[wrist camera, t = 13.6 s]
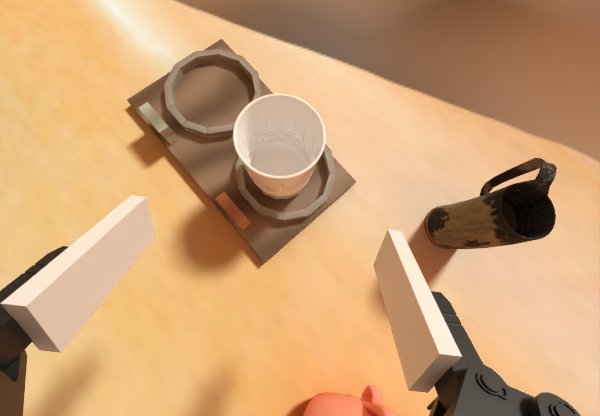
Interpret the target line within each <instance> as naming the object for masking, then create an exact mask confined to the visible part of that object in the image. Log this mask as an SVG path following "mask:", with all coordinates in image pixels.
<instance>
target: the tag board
mask: <svg viewBox="0 0 600 416" xmlns="http://www.w3.org/2000/svg"><path fill="white" fill-rule="evenodd" d="M175 65H176V66H175ZM175 65H174V67H173V69H172V70H171V72H169V73H168V74H166V75H165V76H163V77H162V78H160V79H159V80H157V81H156V82H154V83H152V84H151V85H149V86H148V87H146V88H145V89H143V90H142V91H140V92H138V93H137V94H135V95H134V96H132V97H131V98H129V99H128V100H127V101H128V102H129V103H130V104H131V105H132V107H133V108H134V109H135V110H136V111H137V113H138V114H139V115H140V116H141V117H142V118H143V120H144V121H145V122H146V123H147V124H148V126H149V127H150V128H151V129H152V130H153V132H154V133H155V134H156V135H157V136H158V137H159V139H160V140H161V141H162V142H163V143H164V145H165V146H166V147H167V148H168V149H169V150H170V152H171V153H172V154H173V155H174V156H175V158H176V159H177V160H178V161H179V162H180V164H181V165H182V166H183V167H184V168H185V169H186V171H187V172H188V173H189V174H190V175H191V177H192V178H193V179H194V180H195V181H196V182H197V184H198V185H199V186H200V187H201V188H202V190H203V191H204V192H205V193H206V194H207V196H208V197H209V198H210V199H211V200H212V201H213V203H214V204H215V205H216V206H217V207H218V209H219V210H220V211H221V212H222V213H223V214H224V216H225V217H226V218H227V219H228V220H229V222H230V223H231V224H232V225H233V226H234V227H235V229H236V230H237V231H238V232H239V233H240V235H241V236H242V237H243V238H244V239H245V241H246V242H247V243H248V244H249V245H250V246H251V248H252V249H253V250H254V251H255V252H256V254H257V255H258V256H259V257H260V258H261V259H262V261H263V262H266V261H267V260H268V259H269V258H270V257H271V256H273V255H274V254H275V253H276V252H277V251H278V250H279V249H281V248H282V247H283V246H284V245H285V244H286V243H287V242H289V241H290V240H291V239H292V238H293V237H294V236H295V235H296V234H298V233H299V232H300V231H301V230H302V229H303V228H304V227H306V226H307V225H308V224H309V223H310V222H311V221H312V220H314V219H315V218H316V217H317V216H318V215H319V214H320V213H321V212H323V211H324V210H325V209H326V208H327V207H328V206H329V205H331V204H332V203H333V202H334V201H335V200H336V199H337V198H339V197H340V196H341V195H342V194H343V193H344V192H345V191H346V190H348V189H349V188H350V187H351V186H352V185H353V184H354V183H355V182H356V181H355V180H354V179H353V178H352V177H351V175H350V174H349V173H348V172H347V171H346V170H345V169H344V168H343V167H342V166H341V165H340V164H339V163H338V162H337V161H336V160H335V159H334V157H333V156H332V152H331V151H330V148H329V147H328V146H327V145H326V144H325V147H324V150H323V153H322V155H321V157H320V159H319V161H318V163H317V165H316V167H315V170H314V172H313V174H312V175H311V177H310V179H309V181H308V182H307V184H306V185H305V187H304V188H303V189H302V191H301V192H300V193H299V194H297V195H295V196H293V197H291V198H289V199H273V198H271V197H269V196H267V195H264V194H263V192H262V191H261V190H260V189H259V188H258V187H257V186H256V184H255V183H254V181H253V180H252V178H251V177H250V175H249V174H248V172H247V170H246V168H245V167H244V165H243V163H242V161H241V160H240V158H239V156H238V154H237V152H236V150H235V147H234V142H233V129H234V125H235V122H236V119H237V117H238V115H239V114H240V112H241V111H242V110H243V109H244V108H245V107H246V106H247V105H248V104H249V103H250V102H252V101H254V100H255V99H257V98H259V97H262V96H265V95H270V94H273V93H272V92H271V91H270V90H269V89H268V87H267V86H266V85H265V84H264V83H263V82H262V81H261V80H260V79H259V76H258V73H257V71H256V70H255V69H254V68H253V67H252V66H251V65H250V64H249V63H248V62H247V61H246V60H245V59H244V58H243V57H242V56H240V55H237V54H235V52H234V51H233V50H232V49H231V48H230V47H229V46H228V45H227V44H226V43H225V42H224V41H223V40H222V39H221V40H219V41H218V42H216V43H214V44H213V45H211V46H210V47H208V48H207V49H205V50H204V51H196V53H195V52H193V53H192V54H190V55H189V56H187V57H186V58H184V59H183V60H181V61H179V62H178V63H176V64H175Z"/></svg>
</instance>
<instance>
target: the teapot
mask: <svg viewBox="0 0 600 416" xmlns="http://www.w3.org/2000/svg"><path fill="white" fill-rule="evenodd" d="M381 402H382V394H381V392H380V390H379V389H378V388H377V387H375V386H372V385H369V386H367V387H366V388H365V390H364V391H363V393H362V397H361V399H359V398H355V397H351V396H347V395H342V394H336V393H320V394H318V395H316V396H315V397H313V398H312V400H311V401H310V403H309V404H308V406H307V408H306V410H305V412H304V414H303V416H398V415H397V414H396V413H395V412H394V411H393V410H392V409H390V408H389V407H387V406H384V405H381Z"/></svg>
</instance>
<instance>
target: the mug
mask: <svg viewBox="0 0 600 416" xmlns="http://www.w3.org/2000/svg"><path fill="white" fill-rule="evenodd" d="M539 168H540V171H539V174H538V175H537V177H536V179H535V180H530V181H525V182H520V183H516V184H512V185H510V186H507V187H505V188H502V189H499V190H497V191H494V192H492V193H489V192H490V191H491V189H493V188H494V187H495V186H497V185H499V184H501V183H503V182H505V181H508V180H510V179H513V178H515V177H517V176H520V175H523V174H525V173H528V172H531V171H533V170H536V169H539ZM556 169H557V168H556V166H555V165H554V164H551V163H548V162H546V161H544V160H543V159H541V158H534V159H532V160H529V161H527V162H525V163H523V164H520V165H518V166H516V167H514V168H512V169H510V170H507V171H505V172H503V173H501V174H499V175H497V176H496V177H494V178H492V179H491V180H489V181H488V182H486V183H485V184H484V186H483V187H482V189H481V193H480V196H479V197H476V198H473V199H470V200H467V201H463V202H459V203H455V204H451V205H444V206H439V207H436V208H434V209H432V210H431V211H430V212H429V213H428V215H427V217H426V220H425V230H426V233H427V235H428V237H429V239H430V240H431V241H432V242H433V243H434V244H435V245H437V246H439V247H441V248H444V249H452V248H454V249H475V248H489V247H496V246H504V245H512V244H517V243H522V242H527V241H532V240H537V239H541V238H543V237H545V236H547V235H548V234H549V233H550V232H551V231H552V229H553V227H554V224H555V218H556V215H555V209H554V206H553V204H552V201H551V200H550V199H549V197H548V196H547V195H548V192H549V187H550V185H551V183H552V182H553V180H554V178H555V175H556Z"/></svg>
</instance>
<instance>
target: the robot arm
mask: <svg viewBox="0 0 600 416" xmlns="http://www.w3.org/2000/svg"><path fill="white" fill-rule="evenodd" d="M155 237H156V236H155V232H154V227H153V223H152V219H151V215H150V210H149V206H148V202H147V198H146V197H142V196H134V195H131V196H130V197H129V198H128V199H126V200H125V201H124V202H123V203H122V204H120V205H119V206H118V207H117V208H116V209H114V210H113V211H112V212H111V213H109V214H108V215H107V216H106V217H105V218H103V219H102V220H101V221H100V222H99V223H97V224H96V225H95V226H94V227H92V228H91V229H90V230H89V231H88V232H86V233H85V234H84V235H83V236H82V237H80V238H79V239H78V240H77V241H75V242H74V243H73V244H72V245H71V246H69V247H66V246H63V247H60V248H58V249H56V250H54V251H52V252H50V253H48V254H47V255H46V256H44V257H43V258H42V259H41V260H39V261H38V262H37V263H35V266H32V267H30V268H29V269H28V270H27V271H25V274H21V275H20V276H19V277H18V278H16V279H15V280H14V281H12V282H11V283H10V284H9V285H7V286H6V287H5V288H4V289H2V290H1V291H0V416H23V404H24V391H25V377H26V364H27V354H26V351H25V348H26V347H27V346H28V345H29V344H30V343H31V342H33V343H34V344H35V345H36V347H37V348H38V349H39V350H43V351H52V352H62V351H63V349H64V348H65V347H66V346H67V344H68V343H69V342H70V341H71V340H72V338H73V337H74V336H75V335H76V333H77V332H78V331H79V330H80V329H81V327H82V326H83V325H84V324H85V322H86V321H87V320H88V319H89V318H90V316H91V315H92V314H93V313H94V312H95V310H96V309H97V308H98V307H99V305H100V304H101V303H102V302H103V301H104V299H105V298H106V297H107V296H108V294H109V293H110V292H111V291H112V290H113V288H114V287H115V286H116V285H117V284H118V282H119V281H120V280H121V279H122V277H123V276H124V275H125V274H126V273H127V271H128V270H129V269H130V268H131V266H132V265H133V264H134V263H135V262H136V260H137V259H138V258H139V257H140V256H141V254H142V253H143V252H144V251H145V249H146V248H147V247H148V246H149V245H150V243H151V242H152V241H153V240H154V238H155ZM373 265H374V269H375V272H376V276H377V279H378V283H379V287H380V290H381V294H382V297H383V301H384V304H385V308H386V312H387V315H388V319H389V322H390V326H391V329H392V333H393V337H394V340H395V344H396V347H397V351H398V355H399V358H400V362H401V365H402V369H403V372H404V376H405V380H406V383H407V387H408V390H410V391H419V392H429V391H430V390H431V389H432V387H433V386H435V388H436V391H437V394H438V397H437V398H436V399H434V400H433V401H432V402H431V403H430V404H429V406H428V407H427V409H428V410H431V409H432V410H431V412H430V415H429V416H580V414H579V413H578V412H577V411H576V410H575V409H574V408H573V407H572V406H571V405H570V404H568V403H567V402H566V401H564V400H563V399H561V398H560V397H558V396H556V395H554V394H551V393H548V392H547V393H540V394H539V395H537V396H536V397H533V396H530V395H528V394H526V393H523V392H521V391H519V390H517V389H514V388H512V387H510V386H508V385H507V384H506V383H505V382H504V381H503V379H502V378H501V377H500V376H499V375H498V374H497V373H496V372H495V371H493V370H492V369H491V368H489V367H487V366H485V365H484V364H483V363H482V361H481V359H480V357H479V355H478V354H477V352H476V350H475V348H474V346H473V344H472V342H471V341H470V339H469V337H468V335H467V333H466V331H465V329H464V328H463V326H461V322H460V320H459V318H458V316H456V313H455V311H454V309H453V307H452V305H451V303H450V302H449V301H448V300H447V299H446V298H445V297H444V296H443V295H442V293H441V292H433V291H430V289H429V287H428V285H427V283H426V281H425V279H424V277H423V274H422V272H421V270H420V268H419V266H418V264H417V262H416V260H415V258H414V256H413V254H412V252H411V250H410V248H409V245H408V243H407V241H406V239H405V237H404V235H403V233H402V231H397V230H389V229H388V231H387V233H386V235H385V238H384V240H383V243H382V245H381V248H380V250H379V252H378V255H377V257H376V260H375V262H374V264H373Z"/></svg>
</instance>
